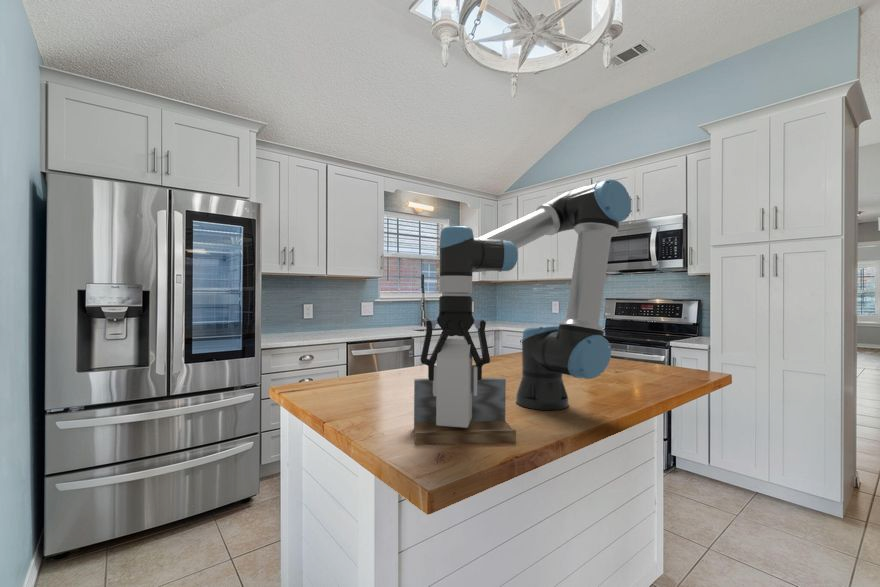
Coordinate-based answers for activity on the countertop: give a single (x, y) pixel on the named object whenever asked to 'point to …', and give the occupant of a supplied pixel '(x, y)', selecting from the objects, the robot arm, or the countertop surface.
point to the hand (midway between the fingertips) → (454, 394)
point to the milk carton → (454, 384)
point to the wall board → (483, 424)
